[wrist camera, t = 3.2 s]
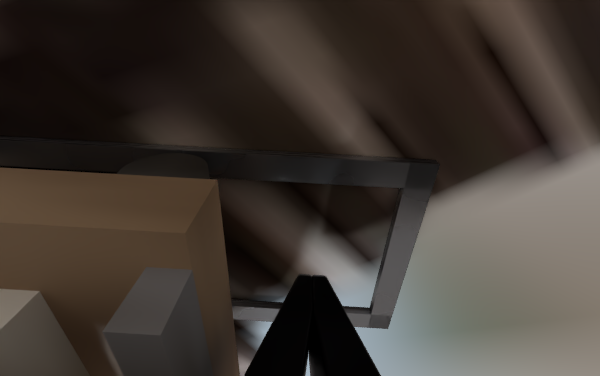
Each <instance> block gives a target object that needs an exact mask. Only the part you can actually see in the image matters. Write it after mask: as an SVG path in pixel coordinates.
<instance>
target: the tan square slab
mask: <svg viewBox="0 0 600 376" xmlns="http://www.w3.org/2000/svg"><path fill="white" fill-rule="evenodd" d="M239 374H240V373H239V364H238V355H237V346H236V338H235V329H234V320H233V311H232V302H231V294H230V285H229V276H228V267H227V258H226V249H225V241H224V232H223V223H222V214H221V205H220V197H219V188H218V180H213V179H210V178H209V170H208V164H207V162H206V161H205V160H204V159H202V158H200V157H198V156H195V155H191V154H183V153H167V154H158V155H153V156H148V157H144V158H141V159H138V160H136V161H133V162H131V163H129V164H127V165H125V166H124V167H123V168H121V169H120V170H119V171H118V173H117V174H107V173H89V172H71V171H53V170H36V169H18V168H0V376H239Z"/></svg>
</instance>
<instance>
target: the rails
mask: <svg viewBox="0 0 600 376" xmlns="http://www.w3.org/2000/svg"><path fill="white" fill-rule="evenodd" d="M167 153H183V154H191V155H195V156H198V157H200V158H202V159H204V160H205V161H206V162H207V164H208V170H209V177H211V178H228V179H246V180H264V181H282V182H300V183H317V184H335V185H353V186H371V187H388V188H400V189H399V193H398V197H397V201H396V205H395V209H394V213H393V217H392V221H391V225H390V229H389V233H388V237H387V241H386V245H385V249H384V253H383V257H382V261H381V265H380V269H379V273H378V277H377V281H376V285H375V289H374V293H373V297H372V301H371V305H370V308H364V307H348V306H343V308H344V310H345V312H346V313H347V315H348V317H349V319H350V321H351V323H352V324H353V326H354V327H367V328H383V329H388V327H389V324H390V321H391V317H392V314H393V311H394V308H395V304H396V301H397V298H398V295H399V292H400V289H401V286H402V282H403V280H404V276H405V273H406V270H407V267H408V264H409V261H410V257H411V254H412V251H413V248H414V245H415V242H416V238H417V235H418V232H419V229H420V226H421V223H422V220H423V216H424V213H425V210H426V207H427V204H428V201H429V197H430V194H431V191H432V188H433V185H434V182H435V179H436V175H437V172H438V169H439V166H440V164H439V163H438V162H437V161H436V160H426V159H408V158H390V157H371V156H353V155H335V154H317V153H299V152H281V151H263V150H244V149H226V148H208V147H190V146H172V145H154V144H136V143H118V142H99V141H81V140H63V139H45V138H27V137H9V136H0V166H15V167H33V168H51V169H68V170H86V171H104V172H118V171H119V170H120V169H121V168H123V167H124V166H125V165H127V164H129V163H131V162H133V161H136V160H138V159H141V158H144V157H148V156H153V155H158V154H167ZM231 302H232V311H233V319H237V320H253V321H269V322H273V321H274V319H275V317H276V315H277V313H278V311H279V310H280V308H281V306H282V304H283V303H282V302H265V301H249V300H232V299H231Z"/></svg>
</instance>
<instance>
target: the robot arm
mask: <svg viewBox="0 0 600 376" xmlns="http://www.w3.org/2000/svg"><path fill="white" fill-rule="evenodd" d="M308 350H309V364H310V376H381V375H380V374H379V372H378V370H377V368H376V366H375V364H374V363H373V361H372V359H371V357H370V355H369V353H368V352H367V350H366V348H365V346H364V344H363V342H362V341H361V339H360V337H359V335H358V333H357V332H356V330H355V328H354V326H353V324H352V323H351V321H350V319H349V317H348V315H347V313H346V312H345V310H344V308H343V306H342V304H341V303H340V301H339V299H338V297H337V295H336V293H335V292H334V290H333V288H332V286H331V284H330V283H329V281H328V279H327V277H326V276H323V275H313V276H311V275H307V274H299V275H298V276H297V278H296V280H295V282H294V284H293V285H292V287H291V289H290V291H289V293H288V295H287V297H286V298H285V300H284V302H283V304H282V306H281V308H280V310H279V311H278V313H277V315H276V317H275V319H274V321H273V323H272V324H271V326H270V328H269V330H268V332H267V334H266V336H265V337H264V339H263V341H262V343H261V345H260V347H259V349H258V350H257V352H256V354H255V356H254V358H253V360H252V362H251V363H250V365H249V367H248V369H247V371H246V373H245V376H305V374H306V366H307V359H308Z"/></svg>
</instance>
